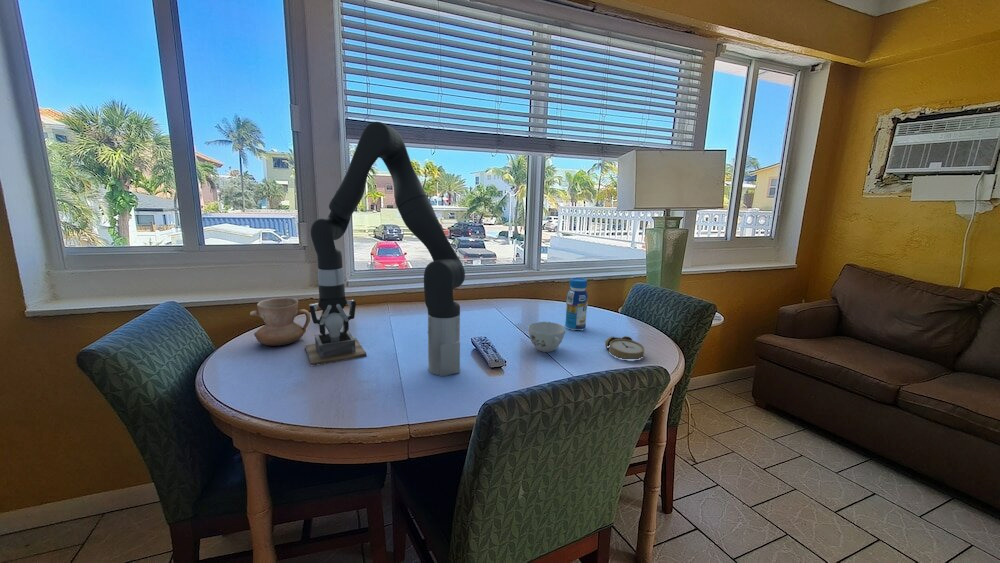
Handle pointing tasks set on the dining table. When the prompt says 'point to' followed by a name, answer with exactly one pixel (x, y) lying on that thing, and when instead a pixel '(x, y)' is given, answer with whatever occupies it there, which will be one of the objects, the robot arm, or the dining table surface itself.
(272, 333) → the ceramic jug
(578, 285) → the beverage bottle
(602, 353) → the dining table surface
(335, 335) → the lightbulb
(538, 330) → the teacup
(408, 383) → the dining table surface
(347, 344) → the socket
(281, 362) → the dining table surface
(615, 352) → the alarm clock
